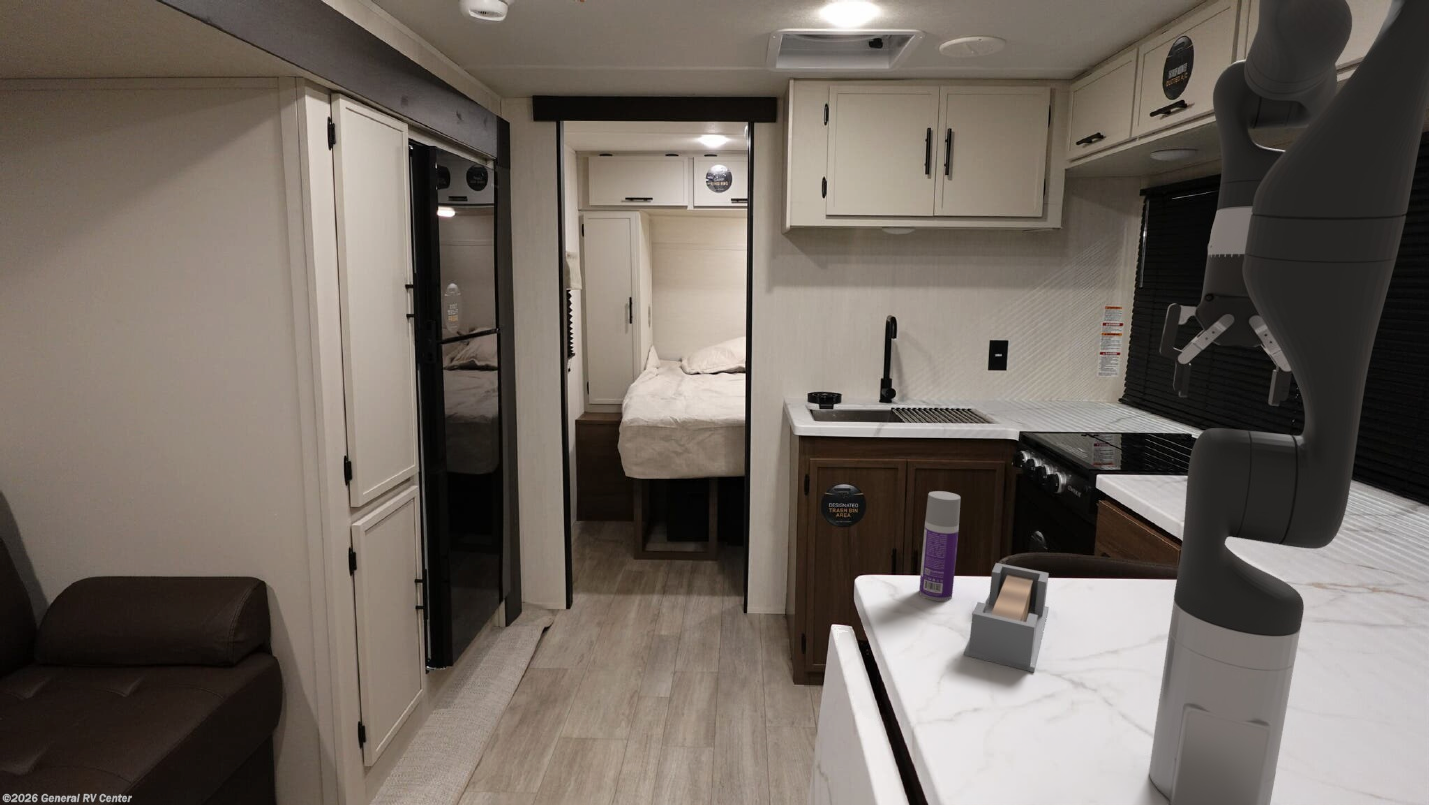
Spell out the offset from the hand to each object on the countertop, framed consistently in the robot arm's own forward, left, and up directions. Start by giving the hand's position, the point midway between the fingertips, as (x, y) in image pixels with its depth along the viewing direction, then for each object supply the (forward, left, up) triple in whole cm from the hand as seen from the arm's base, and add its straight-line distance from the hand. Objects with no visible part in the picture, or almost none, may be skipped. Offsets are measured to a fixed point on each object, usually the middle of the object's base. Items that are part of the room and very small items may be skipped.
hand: (1227, 400), depth 85 cm
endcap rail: (+1, +20, -33) cm, 39 cm away
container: (+8, +31, -33) cm, 46 cm away
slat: (+2, +20, -32) cm, 38 cm away
